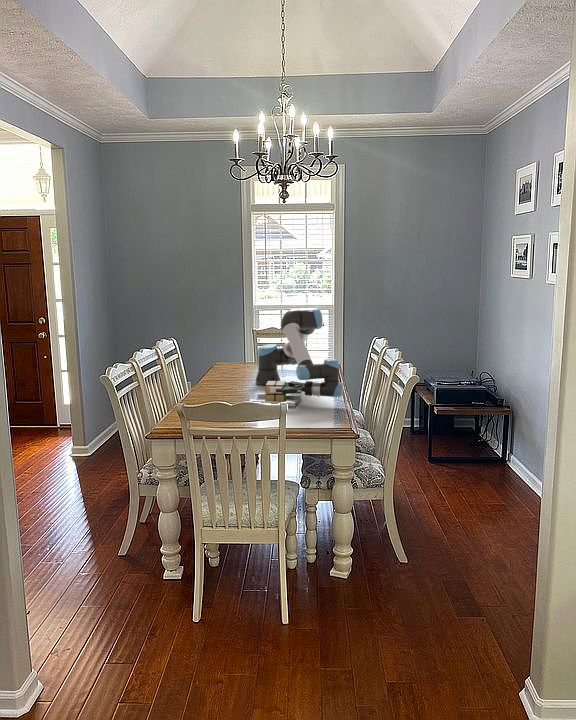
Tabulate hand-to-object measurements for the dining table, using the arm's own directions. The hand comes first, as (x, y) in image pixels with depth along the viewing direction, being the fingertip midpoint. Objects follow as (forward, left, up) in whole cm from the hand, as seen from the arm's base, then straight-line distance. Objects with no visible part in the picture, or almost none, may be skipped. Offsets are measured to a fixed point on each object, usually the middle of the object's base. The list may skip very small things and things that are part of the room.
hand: (273, 386), depth 313 cm
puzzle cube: (+1, 0, -8) cm, 8 cm away
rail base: (+1, 0, -9) cm, 9 cm away
